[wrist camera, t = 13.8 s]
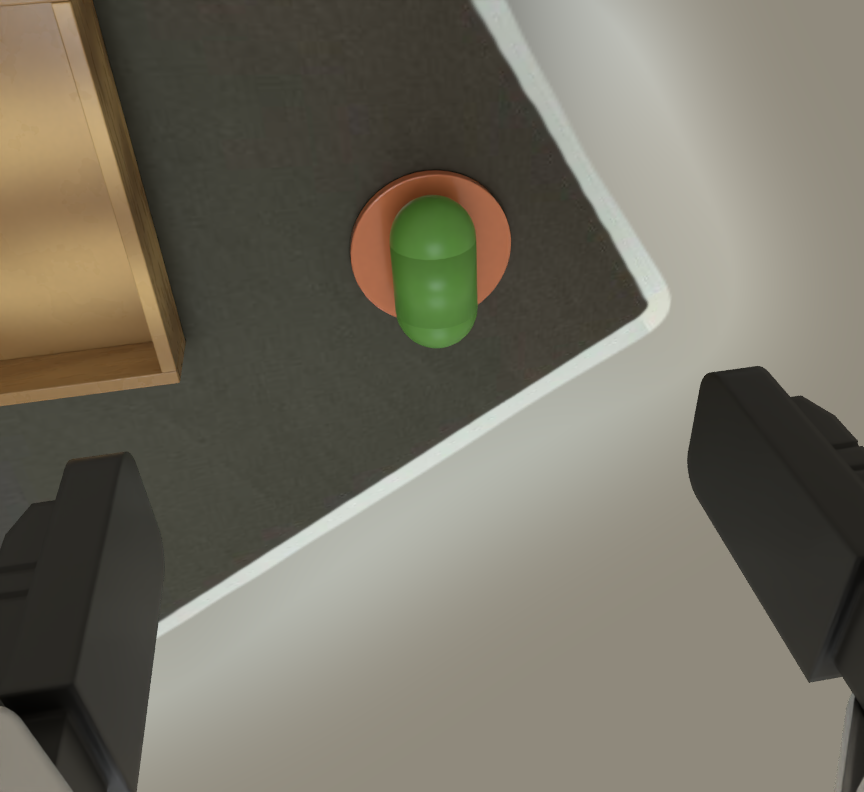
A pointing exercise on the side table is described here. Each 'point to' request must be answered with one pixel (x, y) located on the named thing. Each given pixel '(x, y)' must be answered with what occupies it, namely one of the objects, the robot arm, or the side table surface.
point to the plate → (383, 207)
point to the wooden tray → (74, 219)
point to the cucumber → (434, 270)
